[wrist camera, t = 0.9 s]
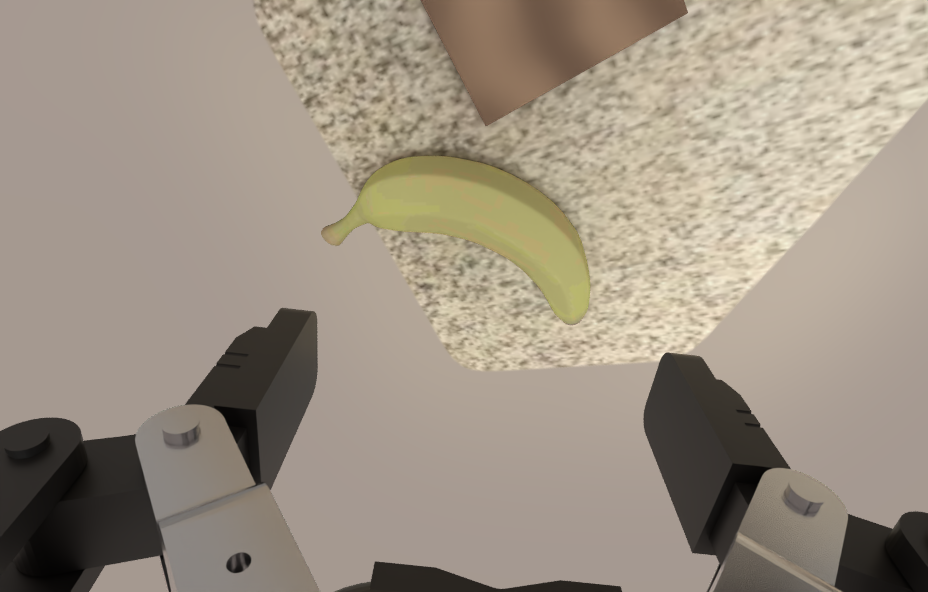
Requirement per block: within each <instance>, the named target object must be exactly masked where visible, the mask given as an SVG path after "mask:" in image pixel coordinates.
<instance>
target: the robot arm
mask: <svg viewBox="0 0 928 592" xmlns="http://www.w3.org/2000/svg"><path fill="white" fill-rule="evenodd" d="M317 365H318V364H317V316H316V313H315V312H314V311H304V310H296V309H288V308H281V309H280V310H279V311H278V313H277V314H276V316H275V317H274V319H273V320H272V322H271V323H270V324H269V326H268V327H267V328H263V327H253V328H252V329H250V330H248V331H246V332H245V333H243V334H241V335H240V336H238V337H236V338H235V340H234V341H233V343H232V344H231V345H230V346H229V348H228V349H227V350H226V352H225V355H222V357H221V358H220V359H219V361H218V362H217V365H216V366H214V367H213V369H212V370H211V371H210V373H209V374H208V375H207V376H206V378H205V379H204V381H203V382H202V383H201V384H200V386H199V387H198V388H197V390H196V391H195V392H194V394H193V395H192V396H191V398H190V399H189V400H188V401H187V403H186V404H185V405H181V406H177V407H172V408H169V409H166V410H164V411H161V412H159V413H157V414H155V415H154V416H152V417H151V418H149V419H148V420H147V421H145V422H144V423H143V424H142V425H141V427H140V428H139V429H138V431H137V433H136V434H134V435H129V436H122V437H113V438H104V439H95V440H87V441H83V438H82V434H81V430H80V428H79V427H78V426H77V425H76V424H75V423H74V422H72V421H70V420H66V419H62V418H39V419H33V420H29V421H25V422H22V423H19V424H16V425H13V426H11V427H8V428H6V429H4V430H2V431H0V592H89V591H90V589H91V588H92V586H93V584H94V583H95V581H96V579H97V578H98V576H99V574H100V573H101V571H102V570H103V568H104V566H105V565H110V564H116V563H121V562H127V561H132V560H138V559H143V558H149V557H154V556H159V559H160V563H161V567H162V571H163V575H164V579H165V583H166V587H167V591H168V592H320V590H319V588H318V586H317V584H316V582H315V580H314V578H313V576H312V574H311V572H310V570H309V568H308V566H307V564H306V562H305V560H304V557H303V556H302V553H301V551H300V550H299V547H298V545H297V543H296V542H295V540H294V537H293V535H292V533H291V532H290V529H289V527H288V525H287V523H286V521H285V519H284V517H283V515H282V513H281V511H280V509H279V507H278V505H277V503H276V501H275V499H274V497H273V495H272V493H271V491H270V490H271V488H272V486H273V483H274V481H275V479H276V477H277V474H278V472H279V470H280V467H281V465H282V463H283V461H284V458H285V456H286V454H287V452H288V449H289V447H290V445H291V442H292V440H293V438H294V436H295V434H296V432H297V429H298V427H299V425H300V422H301V420H302V418H303V416H304V414H305V411H306V409H307V407H308V404H309V402H310V400H311V398H312V395H313V393H314V389H315V385H316V379H317V368H318V366H317ZM644 429H645V433H646V436H647V438H648V441H649V444H650V446H651V449H652V451H653V454H654V456H655V459H656V461H657V464H658V466H659V469H660V471H661V474H662V477H663V479H664V482H665V484H666V487H667V489H668V492H669V494H670V497H671V500H672V502H673V504H674V507H675V510H676V512H677V515H678V517H679V520H680V522H681V525H682V528H683V530H684V533H685V535H686V538H687V540H688V543H689V545H690V548H691V551H692V553H699V554H708V555H716V556H717V559H718V561H719V565H718V567H717V569H716V571H715V573H714V575H713V578H712V580H711V582H710V584H709V587H708V589H707V591H706V592H928V513H924V512H908V513H905V514H903V515H902V516H901V518H900V519H899V521H898V522H897V524H896V525H895V527H894V528H893V529H891V528H888V527H885V526H882V525H879V524H876V523H873V522H870V521H867V520H864V519H861V518H858V517H855V516H852V515H850V514H848V513H847V510H846V508H845V505H844V504H843V502H842V501H841V500H840V498H839V497H838V496H837V495H836V494H835V493H834V492H833V491H832V490H831V489H829V488H828V487H827V486H825V485H824V484H823V483H821V482H819V481H818V480H816V479H814V478H812V477H811V476H808V475H806V474H804V473H801V472H798V471H795V470H791V469H790V467H789V466H788V464H787V463H786V461H785V460H784V458H783V457H782V455H781V454H780V452H779V451H778V449H777V448H776V447H775V445H774V444H773V442H772V441H771V439H770V438H769V436H768V435H767V433H766V432H765V430H764V429H763V428H760V423H759V422H758V420H757V419H756V417H755V416H754V415H753V414H751V410H750V408H749V407H748V406H747V404H746V403H745V402H744V400H743V398H742V397H741V395H740V394H738V393H737V392H736V391H735V390H733V389H732V388H731V387H730V386H728V385H727V384H726V383H725V382H723V381H722V380H717V379H715V377H714V375H713V374H712V372H711V371H710V369H709V368H708V366H707V364H706V363H705V361H704V360H703V359H702V358H701V357H700V356H694V355H685V354H676V353H665V354H664V355H663V356H662V358H661V360H660V363H659V366H658V369H657V372H656V375H655V378H654V381H653V384H652V387H651V390H650V393H649V396H648V399H647V402H646V406H645V410H644ZM335 592H622V590H621V587H620V586H610V585H600V584H591V583H581V582H571V581H561V580H560V581H554V582H547V583H541V584H534V585H527V586H521V587H514V588H508V589H496V588H492V587H489V586H487V585H484V584H481V583H478V582H475V581H472V580H469V579H467V578H464V577H461V576H458V575H455V574H452V573H449V572H447V571H444V570H441V569H438V568H434V567H423V566H413V565H404V564H395V563H385V562H375V564H374V569H373V574H372V579H371V582H367V583H360V584H356V585H353V586H349V587H345V588H343V589H340V590H338V591H335Z"/></svg>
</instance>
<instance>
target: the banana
mask: <svg viewBox="0 0 928 592" xmlns="http://www.w3.org/2000/svg"><path fill="white" fill-rule="evenodd" d="M366 223H370V224H372V225H374V226H376V227H379V228H383V229H389V230H395V231H404V232H422V233H437V234H444V235H449V236H453V237H457V238H461V239H465V240H469V241H472V242H475V243H477V244H480V245H482V246H484V247H486V248H488V249H490V250H492V251H494V252H496V253H498V254H500V255H502V256H504V257H506V258H507V259H509V260H510V261H512V262H513V263H514V264H516V265H517V266H518V267H520V268H521V269H522V270H523V271H524V272H525V273H526V274H527V275H528V276H529V277H530V278H531V279H532V280H533V281H534V282H535V283H536V284H537V286H538V287H539V288H540V290H541V291H542V293H543V294H544V296H545V297H546V299H547V301H548V303H549V304H550V306H551V308H552V310H553V311H554V313H555V314H556V315H557V316H558V317H559V318H560V319H561V320H562V321H563V322H564V323H566V324H568V325H575V324H577V323H579V322H580V321H581V320H582V318H583V317H584V315H585V313H586V312H587V309H588V305H589V298H590V277H589V270H588V265H587V260H586V256H585V253H584V249H583V246H582V243H581V240H580V237H579V235H578V233H577V231H576V230H575V228H574V227H573V225H572V224H571V223H570V221H569V220H568V219H567V217H566V216H565V215H564V214H563V212H562V211H561V210H560V209H559V208H558V207H557V206H556V205H555V204H554V203H553V202H552V201H551V200H550V199H549V198H547V197H546V196H545V195H544V194H542V193H541V192H540V191H538V190H537V189H535V188H534V187H532V186H531V185H529V184H527V183H526V182H524V181H522V180H521V179H519V178H517V177H515V176H513V175H511V174H509V173H507V172H505V171H502V170H500V169H498V168H495V167H492V166H489V165H486V164H483V163H479V162H475V161H470V160H465V159H460V158H454V157H446V156H415V157H408V158H403V159H399V160H396V161H394V162H391V163H389V164H387V165H385V166H383V167H382V168H380V169H379V170H377V171H376V172H375V173H374V174H373V175H372V176H371V177H370V178H369V179H368V181H367V182H366V184H365V185H364V187H363V189H362V190H361V193H360V195H359V197H358V199H357V201H356V203H355V205H354V206H353V207H352V209H351V210H350V212H349V213H348V214H347V215H346V216H345V217H344V218H343V219H341V220H340V221H338V222H336V223H334V224H331V225H328V226H326V227H324V228H323V230H322V231H321V235H322V237H323V238H324V239H325V241H327V242H328V243H329V244H331V245H335V246H338V245H340V244H341V243H342V242H343V240H344V239H345V238H346V237H347V235H348V234H349V233H350V232H351V231H352V230H353V229H355V228H357V227H359V226H361V225H363V224H366Z"/></svg>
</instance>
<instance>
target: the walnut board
mask: <svg viewBox="0 0 928 592" xmlns="http://www.w3.org/2000/svg"><path fill="white" fill-rule="evenodd" d="M421 2H422V3H423V5H424V7H425V9H426V11H427V13H428V15H429V17H430V19H431V21H432V23H433V25H434V27H435V29H436V31H437V33H438V34H439V36H440V38H441V40H442V42H443V44H444V46H445V48H446V50H447V52H448V54H449V56H450V58H451V60H452V62H453V64H454V66H455V67H456V69H457V71H458V73H459V75H460V77H461V79H462V81H463V83H464V85H465V87H466V89H467V91H468V93H469V95H470V97H471V99H472V100H473V102H474V104H475V106H476V108H477V110H478V112H479V114H480V116H481V118H482V120H483V122H484V124H485V126H487V125H489V124H491V123H493V122H494V121H496V120H498V119H500V118H501V117H503V116H505V115H507V114H509V113H510V112H512V111H514V110H516V109H518V108H519V107H521V106H523V105H525V104H526V103H528V102H530V101H532V100H534V99H535V98H537V97H539V96H541V95H543V94H544V93H546V92H548V91H550V90H551V89H553V88H555V87H557V86H559V85H560V84H562V83H564V82H566V81H568V80H569V79H571V78H573V77H575V76H576V75H578V74H580V73H582V72H584V71H585V70H587V69H589V68H591V67H593V66H594V65H596V64H598V63H600V62H601V61H603V60H605V59H607V58H609V57H610V56H612V55H614V54H616V53H617V52H619V51H621V50H623V49H625V48H626V47H628V46H630V45H632V44H634V43H635V42H637V41H639V40H641V39H642V38H644V37H646V36H648V35H650V34H651V33H653V32H655V31H657V30H659V29H660V28H662V27H664V26H666V25H667V24H669V23H671V22H673V21H675V20H676V19H678V18H680V17H682V16H684V15H685V14H687V13H688V11H687V8H686V5H685V2H684V0H421Z"/></svg>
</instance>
